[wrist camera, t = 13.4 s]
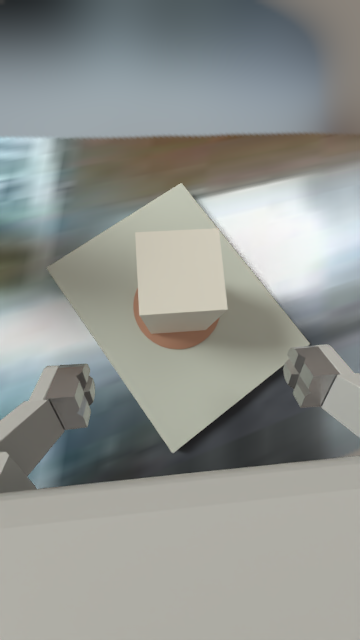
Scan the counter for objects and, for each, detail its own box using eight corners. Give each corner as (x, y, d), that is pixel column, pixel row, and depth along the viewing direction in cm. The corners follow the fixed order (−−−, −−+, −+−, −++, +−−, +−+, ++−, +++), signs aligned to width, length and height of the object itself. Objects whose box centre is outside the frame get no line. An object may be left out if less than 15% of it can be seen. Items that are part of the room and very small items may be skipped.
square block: (205, 330, 21) (227, 309, 13) (151, 333, 20) (139, 315, 12) (200, 278, 21) (218, 228, 13) (148, 281, 21) (135, 232, 13)
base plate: (52, 273, 22) (8, 238, 16) (180, 191, 24) (184, 133, 18) (172, 448, 20) (173, 485, 14) (302, 345, 22) (353, 337, 16)
